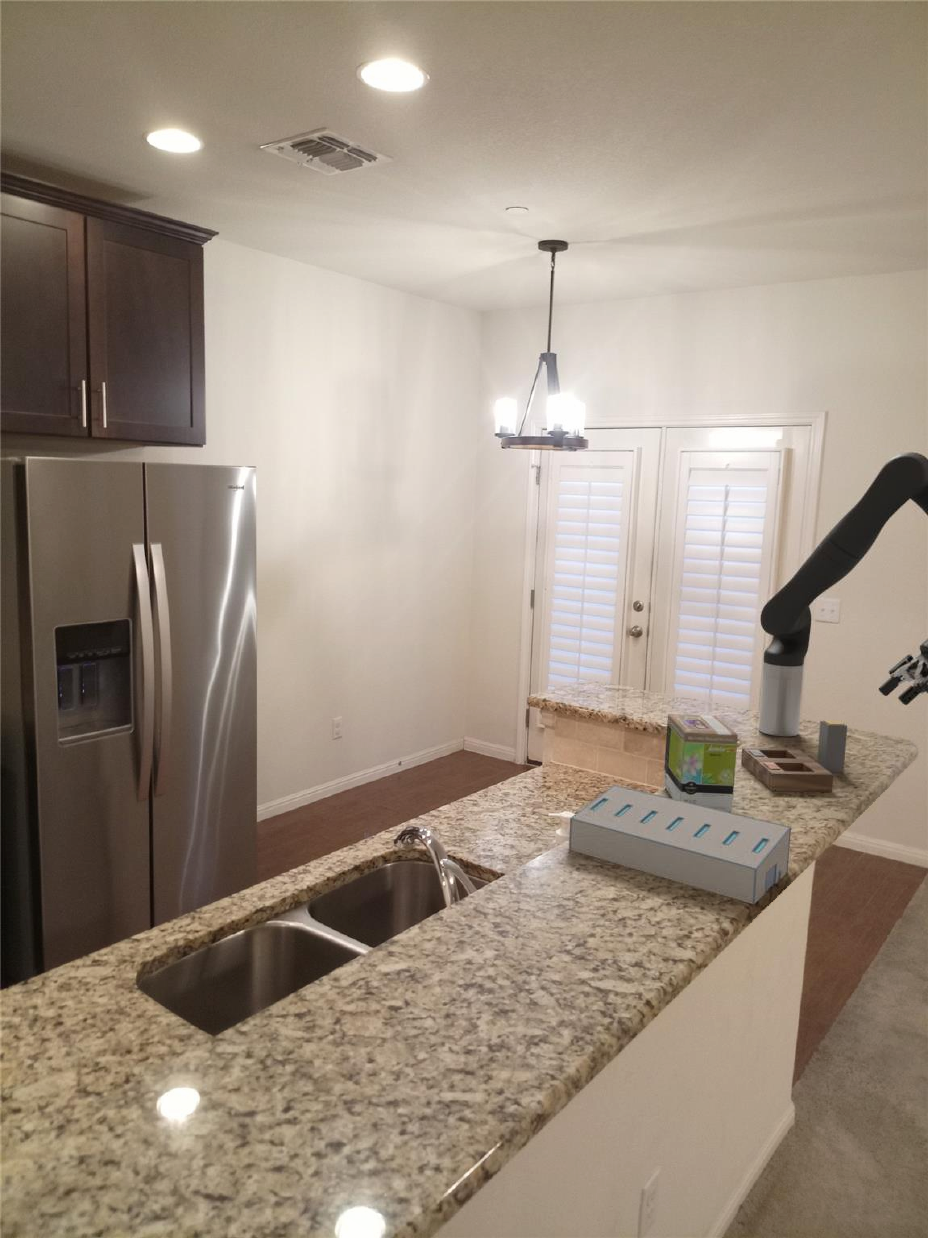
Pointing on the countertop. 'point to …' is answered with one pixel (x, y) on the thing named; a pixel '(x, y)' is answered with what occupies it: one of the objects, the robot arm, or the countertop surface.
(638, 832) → the multi-port usb hub
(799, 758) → the dock
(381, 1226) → the countertop surface
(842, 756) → the grey rectangular block
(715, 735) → the tea box
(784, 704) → the robot arm
